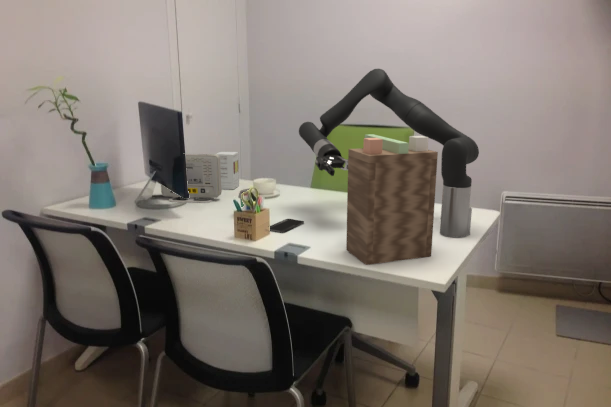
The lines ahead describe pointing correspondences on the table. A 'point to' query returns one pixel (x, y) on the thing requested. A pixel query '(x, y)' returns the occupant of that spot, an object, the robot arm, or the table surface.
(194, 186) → the network device
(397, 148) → the sage green bar
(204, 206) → the table surface
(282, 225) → the phone
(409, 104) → the robot arm
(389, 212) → the walnut stand
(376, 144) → the terracotta block
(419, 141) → the grey block
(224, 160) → the supplement box
